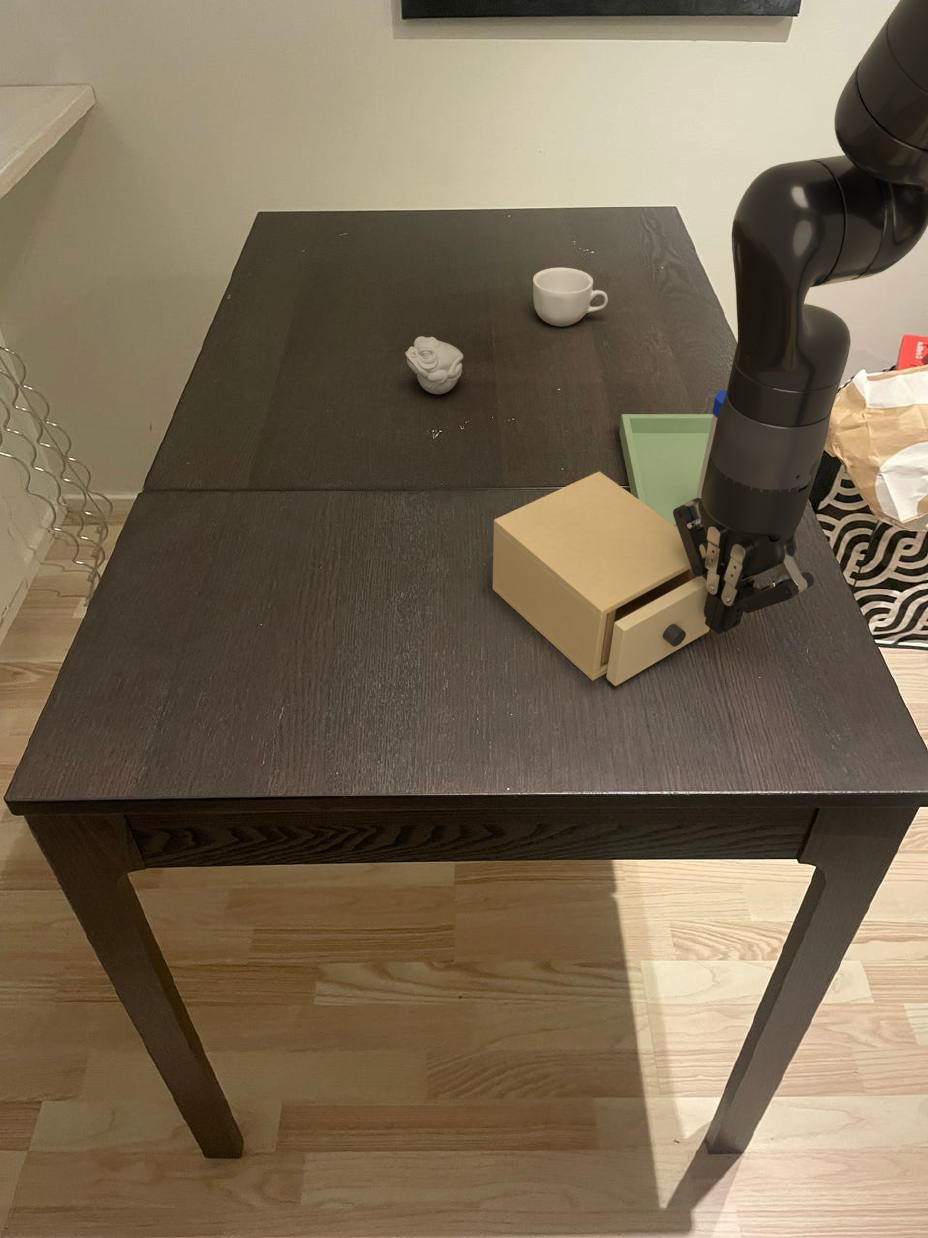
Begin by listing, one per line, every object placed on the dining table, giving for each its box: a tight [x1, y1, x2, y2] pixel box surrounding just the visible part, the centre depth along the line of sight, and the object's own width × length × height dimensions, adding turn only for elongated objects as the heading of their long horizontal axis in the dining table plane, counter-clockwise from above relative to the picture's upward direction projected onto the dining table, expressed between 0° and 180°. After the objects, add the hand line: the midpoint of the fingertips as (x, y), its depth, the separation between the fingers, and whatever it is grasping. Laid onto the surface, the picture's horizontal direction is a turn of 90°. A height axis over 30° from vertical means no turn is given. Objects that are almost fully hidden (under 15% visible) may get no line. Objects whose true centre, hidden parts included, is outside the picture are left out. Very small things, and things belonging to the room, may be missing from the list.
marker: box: [696, 389, 727, 498], centre depth 92 cm, size 3×3×14 cm
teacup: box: [532, 267, 609, 327], centre depth 126 cm, size 10×8×5 cm
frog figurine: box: [404, 335, 464, 395], centre depth 113 cm, size 6×7×7 cm
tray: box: [618, 413, 713, 545], centre depth 101 cm, size 20×13×2 cm, turn 0°
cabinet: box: [492, 471, 707, 682], centre depth 86 cm, size 14×12×8 cm
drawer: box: [600, 568, 711, 687], centre depth 84 cm, size 15×11×7 cm
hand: (719, 625), depth 80 cm, fingers closed
